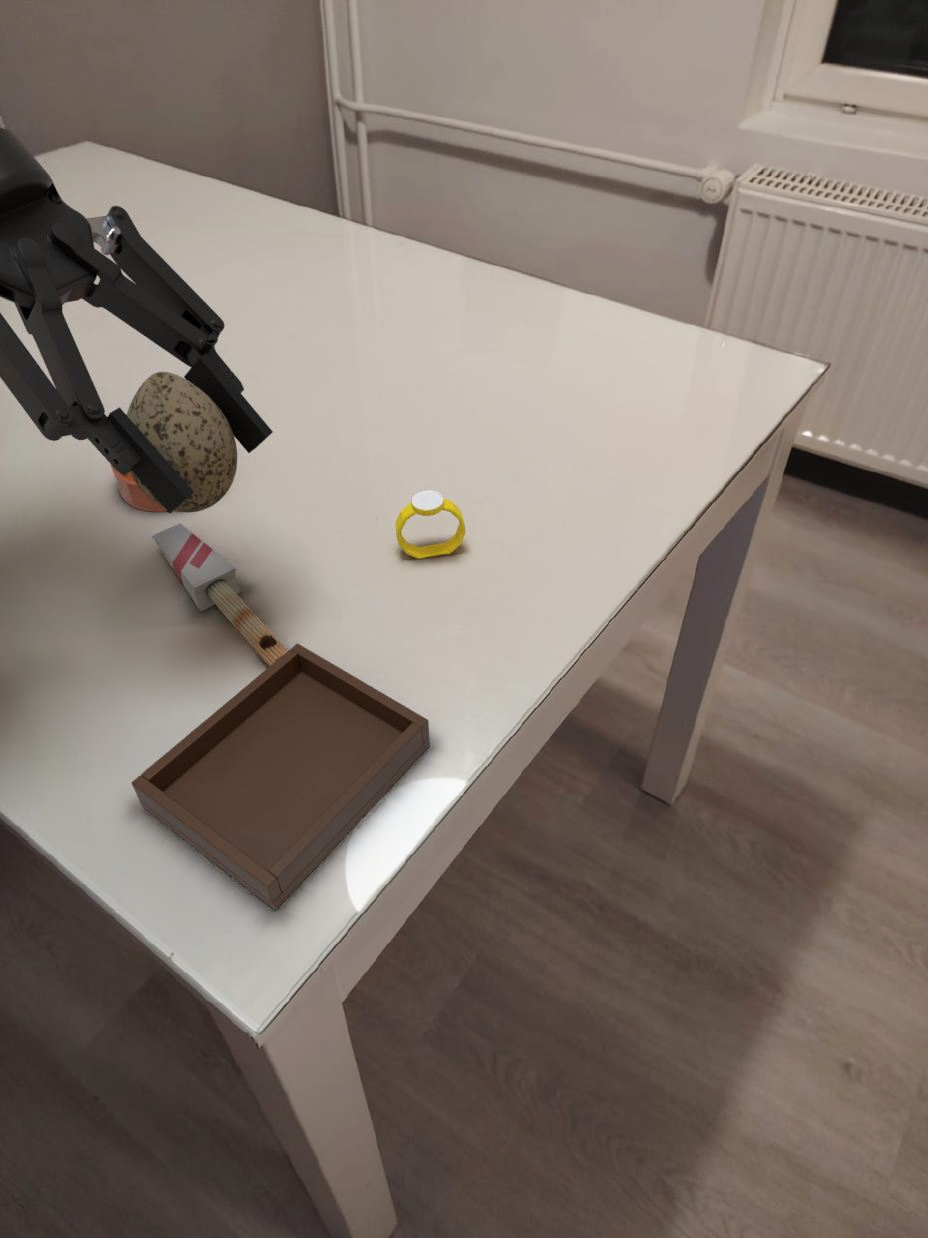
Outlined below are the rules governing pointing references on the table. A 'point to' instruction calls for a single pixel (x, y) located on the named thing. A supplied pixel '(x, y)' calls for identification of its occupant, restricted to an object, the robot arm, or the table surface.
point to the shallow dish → (134, 493)
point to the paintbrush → (215, 587)
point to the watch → (427, 506)
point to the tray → (283, 771)
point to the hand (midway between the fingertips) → (222, 471)
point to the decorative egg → (186, 437)
